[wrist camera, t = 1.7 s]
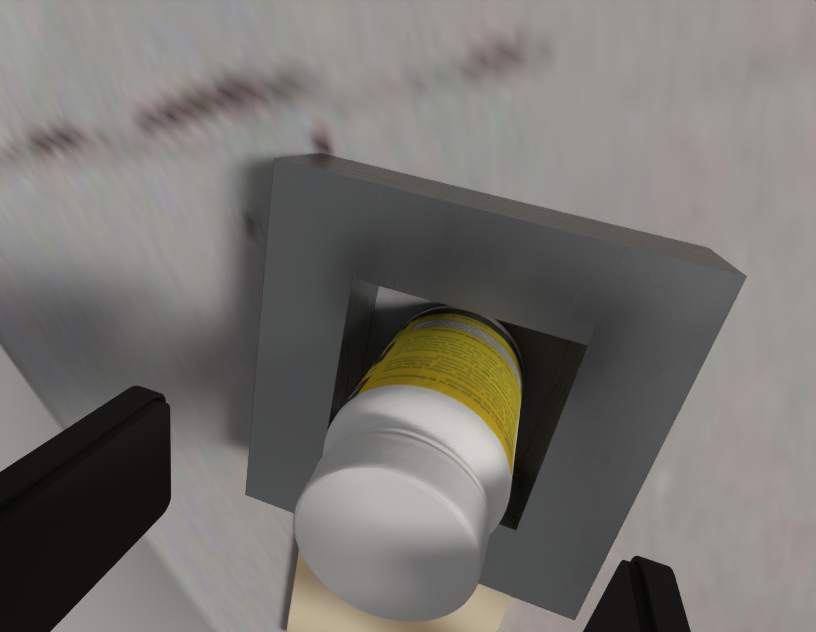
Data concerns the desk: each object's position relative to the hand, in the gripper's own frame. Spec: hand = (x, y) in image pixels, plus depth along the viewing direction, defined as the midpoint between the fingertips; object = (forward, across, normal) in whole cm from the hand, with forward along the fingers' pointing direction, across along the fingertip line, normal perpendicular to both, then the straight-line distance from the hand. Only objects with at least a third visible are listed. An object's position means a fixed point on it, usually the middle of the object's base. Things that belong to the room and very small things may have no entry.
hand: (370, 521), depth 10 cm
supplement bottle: (+8, 0, +1) cm, 9 cm away
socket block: (+8, 0, +1) cm, 8 cm away
